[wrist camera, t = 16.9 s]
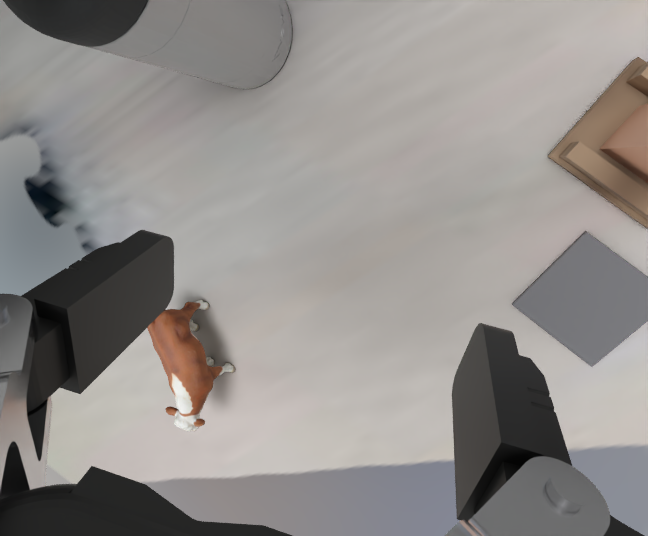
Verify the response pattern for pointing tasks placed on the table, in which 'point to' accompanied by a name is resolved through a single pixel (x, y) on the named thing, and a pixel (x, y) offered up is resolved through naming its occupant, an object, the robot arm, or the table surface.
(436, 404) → the table surface
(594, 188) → the slotted rack
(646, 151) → the tall salmon pink block
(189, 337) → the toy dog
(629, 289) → the rubber mat
